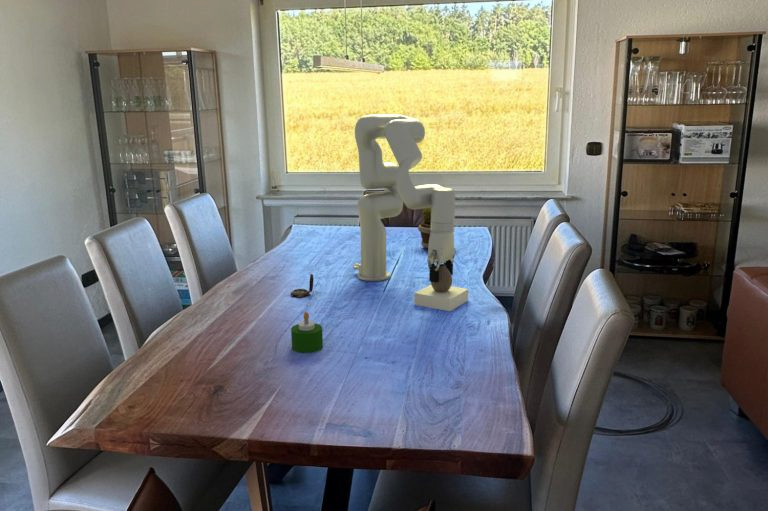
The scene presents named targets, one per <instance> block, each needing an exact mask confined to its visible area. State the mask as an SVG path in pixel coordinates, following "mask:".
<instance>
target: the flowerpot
mask: <svg viewBox="0 0 768 511" xmlns="http://www.w3.org/2000/svg"><path fill="white" fill-rule="evenodd" d="M422 219H423V220H422V221H421V222H420V224H418V228H417V229H418V232H420V236H421V243H420V245H421V246H422V247H423V249H425V250H426V251H428V246H429V238H430V233H431V208H423V209H422Z"/></svg>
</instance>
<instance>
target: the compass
mask: <svg viewBox="0 0 768 511" xmlns="http://www.w3.org/2000/svg"><path fill="white" fill-rule="evenodd" d="M309 275H310V276H309V289H308V290H307V289H305V288H298V289H296V288H295V289H294V290H292V291H291V292H290V296H292V297H294V298H304V297H308V296H309V295H310V293H312V292H313V289H314V274H312V273H310V274H309Z"/></svg>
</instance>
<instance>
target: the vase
mask: <svg viewBox="0 0 768 511" xmlns="http://www.w3.org/2000/svg"><path fill="white" fill-rule="evenodd" d="M438 270H439V282H438V283H436V282H430V285H432V288H433V289H434V290H435V291H436V292H447V291H448V290H449V289H450V287H451V286H453V285H452V284H453V275H451V273H450V272H449V270H448V269H447V268H446V265H445V264H444V263H441V264H440V265H439V268H438Z"/></svg>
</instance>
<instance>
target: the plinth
mask: <svg viewBox="0 0 768 511" xmlns="http://www.w3.org/2000/svg"><path fill="white" fill-rule="evenodd" d="M413 299H414V305H415V306H419V307H426V308H430V309H435V310H441V311H446V312H451V311H454V310H455V309H457V308H459V307H460V306H462V305H464V304H465V303H466V302H468V301H469V288H464V287H459V286H453V285H451V287H450V289H449V290H448V291H447V292H436V291H435V290H434V289H433V288H432V285H431V284H429V285H427V286H425V287H423V288H422V289H419V290H418V291H415V292H414V298H413Z"/></svg>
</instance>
